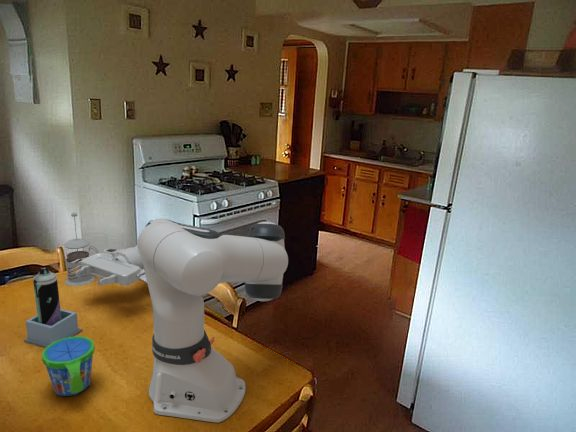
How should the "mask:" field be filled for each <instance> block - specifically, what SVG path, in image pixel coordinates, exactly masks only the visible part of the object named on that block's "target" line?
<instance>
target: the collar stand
mask: <svg viewBox="0 0 576 432" xmlns="http://www.w3.org/2000/svg"><path fill="white" fill-rule="evenodd" d="M60 310H61V321H59V322H57V323H56V324H54V325H52V326H49V325H45V324H42V323H38V316H37V315H34V316H33V317H31V318H29V319H27V320H26V321H25V327H26V333H27V337H25V338H24V339H23V342H24V343H27V344H31V345H34V346H36V347H37V346H38V347H42V348H44V349H45V348H46V347H47V346H49V345H50V344H52V343H53V342H55V341H58V340H60V339H64V338H68V337H75V336H77V335H79V334H80V333H82V332H83V328H79V324H78V323H79V322H78V315H77V314H78V313H77V312H76V311H75V312H74V311H71V310H68V309H67V310H66V309H63V308H60Z"/></svg>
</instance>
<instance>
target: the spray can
mask: <svg viewBox="0 0 576 432" xmlns="http://www.w3.org/2000/svg"><path fill="white" fill-rule="evenodd" d="M32 279H33V280H32V282H33V290H34V300H35V306H36V314H37V316H38V323H42V324H45V325H49V326H52V325H54V324H56V323H57V322H59V321H61V310H60V309H61V303H60V302H61V301H60V294H59V285H58V277H57V274H56V273H55V272H52V271H50V270H49V268H48V266H46V267H43V268H42V267H41V268H39V272H38V273H37V274H36V275H35V276H33V278H32Z"/></svg>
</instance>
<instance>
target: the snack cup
mask: <svg viewBox="0 0 576 432" xmlns="http://www.w3.org/2000/svg"><path fill="white" fill-rule="evenodd" d="M94 354H95V343H94V341H93V340H92V339H91V338H89V337H86V336H77V335H76V336H74V337H68V338H64V339H60V340H58V341H55V342H53V343H52V344H50V345H49V346H47V347H46V348H44V349H43V350H42V352H41V361H42V363H43V364H44V365H45V368H46V371H47V374H48V377H49V380H50V381H51V382H50V383H51V385H52V387H53V391H54V392H55V393H56V394H57V395H58V396H63V397H67V396H69V397H70V396H76V395H78V394H79V393H82V392H83V391H84V390H86V389H87V388H88V387H89V386H90V384H91V379H92V368H93V360H94V359H93V358H94V357H93V356H94Z"/></svg>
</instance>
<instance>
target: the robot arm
mask: <svg viewBox="0 0 576 432" xmlns="http://www.w3.org/2000/svg"><path fill="white" fill-rule="evenodd" d="M285 240H286V237H285V231H284V228H283V227H282V226H281V225H280V224H277V223H275V222H271V221H260V222H258V223H254V224H253V225H251V226H250V228H249V229H248V233H247V236H244V235H243V236H242V235H232V234H223V235H221V234H220V232H218V231H217V230H213V229H210V228H205V227H202V226H201V227H200V226H195V225H191V224H185V223H180V222H176V221H173V220H170V219H167V218H155V219H151V220H149V221H148V223H146V224H145V226H144V228H143V229H142V230H141V231H140V233H139V235H138V237H137V242H136V245H135V246H132V247H127V248H122V249H121V248H120V249H114V248H105V249H104V250H102V252H99V253H98V252H97V253H94V254H92V255H89V257H87V258H83V260H82V261H80V262H81V265H80V266H81V270H80V269H78V270H76V271H75V272H76V277H79V278H81V277H84V274H85V273H86V274H88V273H89V274H92V275H93V276H95V277H98V279H97V281H96V282H97V285H99V286H101V287H102V286H105V285H113V284H118V285H120V286H122V287H123V286H124V287H125V286H130V285H132V284H134V283H136V282H137V281H139V280H140V279H141V277H142V276H144V275H145V278H146V283H147V287H148V291H149V295H150V296H149V297H150V302H151V306H152V316H153V317H152V318H153V319H152V320H153V321H152V322H153V335H152V336H151V338H152V339H151V341H152V342H151V344H152V345H151V346H152V347H151V348H152V351H151V352H152V354H153V367H152V376H151V379H150V384H149V387H148V395H149V398H150V400H151V401H152V403H153V413H155V414H156V415H158V416H159V415H161V416H168V417H176V418H181V419H189V420H196V421H203V422H210V423H218V424H219V423H222V422H224V421H225V420H227V419H228V418H230V417H231V416H232V415H233V414H234V413H235V412H236V410H238V408H239V406H240V405H241V403H242V401H243V400H244V397H245V395H246V382H245V380H244V379H242V378H240V377H238V376H236V375H237V374H236V370H235V367H234V365H233V363H231V362H230V361H229V360H227V359H226V357H224V355H223V354H222V353H219V352H218V351H217V350H216V349H214V347H213V346H212V345H213V344H214V343H215V336H212V338H211V339H209V336H208V334H207V331H206V330H205V301H204V298H203V296H205V295H207V294H209V293H211V292H212V291H214V290H215V288H216V287H217V286H218V285H219V284H223V283H224V284H225V283H244V289H245V294H246V295H247V296H248V297H249V298H251V299H253V300H255V301H259V302H269V301H272V300H274V299H275V300H276V299H277V298H279V297H280V296H281V294H282V290H283V286H284V285H283V279H284V273H285V272H286V271H287V268H288V265H289V256H288V253H287V251H286V248H285Z"/></svg>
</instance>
